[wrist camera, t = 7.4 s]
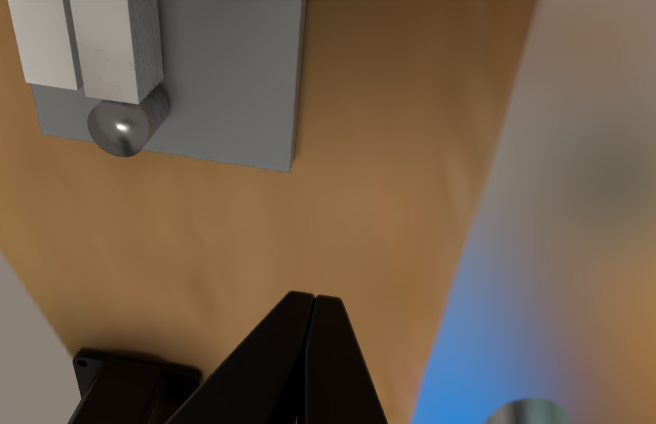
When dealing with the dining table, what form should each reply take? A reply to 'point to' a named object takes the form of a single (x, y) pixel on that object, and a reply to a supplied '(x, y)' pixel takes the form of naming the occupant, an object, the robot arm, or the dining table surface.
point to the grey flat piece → (185, 77)
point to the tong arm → (121, 71)
